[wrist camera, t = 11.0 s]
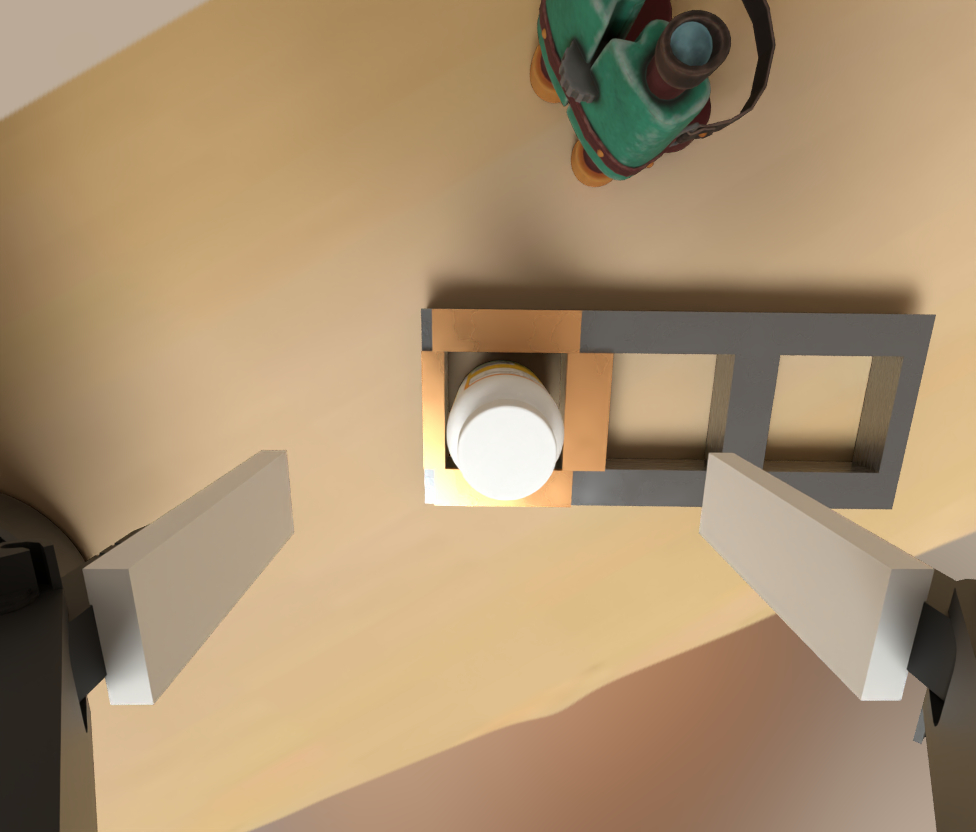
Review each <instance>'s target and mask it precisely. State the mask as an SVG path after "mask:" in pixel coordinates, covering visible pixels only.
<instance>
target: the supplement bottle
mask: <svg viewBox="0 0 976 832" xmlns="http://www.w3.org/2000/svg"><path fill="white" fill-rule="evenodd" d="M563 442H564V424H563V419H562V416H561V413H560V411H559V409H558V407H557V405H556V403H555V401H554V400H553V398H552V397H551V396H550V394H549V393H548V391H547V390H546V388H545V387H544V386H543V384H542V383H541V381H540V380H539V379H538V377H537V376H536V375H535V374H534V373H533V372H532V371H531V370H529V369H528V368H527V367H525V366H523V365H521V364H519V363H516V362H512V361H507V360H496V361H491V362H487V363H484V364H482V365H480V366H478V367H477V368H475V369H474V370H473V371H471V372H470V373H469V374H468V375H467V376H466V378H465V379H464V380H463V382H462V384H461V385H460V387H459V390H458V392H457V395H456V398H455V401H454V403H453V406H452V408H451V411H450V414H449V418H448V423H447V444H448V449H449V452H450V455H451V457H452V459H453V461H454V463H455V464H456V466H457V467H458V468H459V470H460V471H461V472H462V474H463V476H464V478H465V479H466V481H467V482H468V483H469V484H470V485H471V486H472V487H473V488H474V489H475V490H476V491H478V492H479V493H481V494H483V495H485V496H487V497H489V498H493V499H497V500H516V499H520V498H524V497H526V496H529V495H531V494H532V493H534V492H536V491H537V490H539V489H540V488H541V487H542V486H543V485H544V484H545V483H546V482H547V480H548V479H549V477H550V476H551V474H552V472H553V470H554V467H555V464H556V461H557V460H558V458H559V456H560V453H561V451H562V447H563Z"/></svg>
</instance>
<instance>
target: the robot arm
mask: <svg viewBox="0 0 976 832" xmlns="http://www.w3.org/2000/svg"><path fill="white" fill-rule="evenodd" d="M293 533H294V525H293V514H292V503H291V492H290V481H289V470H288V459H287V450H261V451H260V452H258V453H257V454H255V455H254V456H252V457H251V458H249V459H248V460H246V461H245V462H243V463H242V464H240V465H239V466H237V467H236V468H234V469H233V470H231V471H230V472H228V473H227V474H225V475H224V476H222V477H221V478H219V479H217V480H216V481H214V482H213V483H211V484H210V485H208V486H207V487H205V488H204V489H202V490H201V491H199V492H198V493H196V494H195V495H193V496H192V497H190V498H189V499H187V500H186V501H184V502H183V503H181V504H180V505H178V506H177V507H175V508H174V509H172V510H171V511H169V512H168V513H166V514H165V515H163V516H162V517H160V518H159V519H157V520H156V521H154V522H152V523H151V524H149V525H147V526H144V527H142V528H139V529H137V530H135V531H132V532H131V533H129V534H128V535H126V536H125V537H123V538H122V539H120V540H119V541H117V542H116V543H115V545H111V546H109V547H108V548H106V549H105V550H103V551H102V552H100V553H99V555H96V556H94V557H92V558H91V559H89V560H88V561H86V562H85V561H84V559H83V557H82V556H81V554H80V553H79V551H78V550H77V548H76V547H75V546H74V544H73V543H72V542H71V541H70V540H69V538H68V537H67V536H66V535H65V534H64V533H63V532H62V531H61V530H60V529H59V528H58V527H57V526H56V525H55V524H53V523H52V522H51V521H50V520H49V519H47V518H46V517H45V516H44V515H42V514H41V513H39V512H38V511H36V510H35V509H33V508H32V507H30V506H28V505H27V504H25V503H23V502H21V501H19V500H17V499H15V498H12V497H10V496H8V495H5V494H3V493H0V832H98V830H97V813H96V796H95V779H94V762H93V744H92V727H91V711H90V707H89V702H88V698H87V694H88V693H89V692H90V691H91V690H92V689H93V688H94V687H95V686H96V685H97V684H98V683H99V682H101V681H102V680H103V679H104V678H105V680H106V684H107V689H108V694H109V699H110V703H111V705H154V703H155V702H156V701H157V700H158V699H159V697H160V696H161V695H162V694H163V692H164V691H165V690H166V689H167V688H168V686H169V685H170V684H171V683H172V681H173V680H174V679H175V678H176V677H177V675H178V674H179V673H180V672H181V670H182V669H183V668H184V667H185V666H186V664H187V663H188V662H189V661H190V659H191V658H192V657H193V656H194V655H195V653H196V652H197V651H198V650H199V648H200V647H201V646H202V645H203V644H204V642H205V641H206V640H207V639H208V637H209V636H210V635H211V634H212V633H213V631H214V630H215V629H216V628H217V626H218V625H219V624H220V623H221V621H222V620H223V619H224V618H225V617H226V615H227V614H228V613H229V612H230V610H231V609H232V608H233V607H234V606H235V604H236V603H237V602H238V601H239V599H240V598H241V597H242V596H243V595H244V593H245V592H246V591H247V590H248V588H249V587H250V586H251V585H252V584H253V582H254V581H255V580H256V579H257V577H258V576H259V575H260V574H261V573H262V571H263V570H264V569H265V568H266V566H267V565H268V564H269V563H270V562H271V560H272V559H273V558H274V557H275V555H276V554H277V553H278V552H279V551H280V549H281V548H282V547H283V546H284V544H285V543H286V542H287V541H288V540H289V538H290V537H291V536H292V535H293ZM699 534H700V535H701V536H702V537H703V538H704V539H705V540H706V541H707V542H708V543H709V544H710V545H711V546H712V547H713V548H714V549H715V550H716V551H717V552H718V553H719V555H720V556H721V557H722V558H723V559H724V560H725V561H726V562H727V563H728V564H729V565H730V566H731V567H732V568H733V569H734V570H735V571H736V572H737V573H738V574H739V575H740V576H741V577H742V578H743V579H744V580H745V581H746V582H747V583H748V584H749V585H750V587H751V588H752V589H753V590H754V591H755V592H756V593H757V594H758V595H759V596H760V597H761V598H762V599H763V600H764V601H765V602H766V603H767V604H768V605H769V606H770V607H771V608H772V609H773V610H774V611H775V612H776V613H777V614H778V615H779V616H780V617H781V618H782V620H783V621H784V622H785V623H786V624H787V625H788V626H789V627H790V628H791V629H792V630H793V631H794V632H795V633H796V634H797V635H798V636H799V637H800V638H801V639H802V640H803V641H804V642H805V643H806V644H807V645H808V646H809V647H810V648H811V649H812V650H813V651H814V652H815V654H816V655H817V656H818V657H819V658H820V659H821V660H822V661H823V662H824V663H825V664H826V665H827V666H828V667H829V668H830V669H831V670H832V671H833V672H834V673H835V674H836V675H837V676H838V677H839V678H840V679H841V680H842V681H843V682H844V683H845V685H846V686H847V687H848V688H849V689H850V690H851V691H852V692H853V693H854V694H855V695H856V696H858V698H859V699H860V700H901V698H902V694H903V690H904V686H905V682H906V678H907V674H908V671H909V672H910V673H911V674H912V675H914V676H915V677H916V678H917V679H918V680H919V681H921V682H922V683H923V684H924V685H925V686H927V691H926V695H925V698H924V702H923V706H922V710H921V713H920V717H919V721H918V724H917V728H916V732H915V736H914V739H913V741H915V742H918V743H920V744H921V743H922V741H923V739H924V737H926V742H927V751H928V758H929V768H930V776H931V785H932V793H933V802H934V811H935V820H936V828H937V832H976V580H974V579H964V580H960V581H955V580H953V579H952V578H950V577H948V576H946V575H945V574H943V573H941V572H939V571H938V570H936V569H934V568H932V567H931V566H929V565H927V564H926V563H924V562H922V561H920V560H919V559H917V558H915V557H913V556H912V555H910V554H908V553H906V552H905V551H903V550H901V549H899V548H898V547H896V546H894V545H892V544H891V543H889V542H887V541H886V540H884V539H882V538H880V537H879V536H877V535H875V534H873V533H872V532H870V531H868V530H866V529H864V528H863V527H861V526H859V525H858V524H856V523H854V522H852V521H851V520H849V519H847V518H845V517H844V516H842V515H840V514H838V513H837V512H835V511H833V510H832V509H830V508H828V507H826V506H825V505H823V504H821V503H819V502H818V501H816V500H814V499H812V498H811V497H809V496H807V495H805V494H804V493H802V492H800V491H799V490H797V489H795V488H793V487H792V486H790V485H788V484H786V483H785V482H783V481H781V480H779V479H778V478H776V477H774V476H772V475H771V474H769V473H767V472H766V471H764V470H762V469H760V468H759V467H757V466H755V465H753V464H752V463H750V462H748V461H746V460H745V459H743V458H741V457H740V456H738V455H736V454H734V453H709V456H708V464H707V472H706V480H705V488H704V496H703V504H702V512H701V520H700V528H699Z"/></svg>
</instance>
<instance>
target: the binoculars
mask: <svg viewBox="0 0 976 832" xmlns="http://www.w3.org/2000/svg"><path fill="white" fill-rule="evenodd" d="M742 1H743V4H744V6H745V8H746V10H747V12H748V14H749V17H750V19H751V21H752V23H753V28H754V34H755V40H756V46H757V52H758V62H757V67H756V72H755V76H754V81H753V86H752V91H751V95H750V97H749V99H748V101H747V102H746V104H745V106H744V107H743V109H742V110H741V112H740V114H739V115H737V116H735V117H734V118H732V119H729V120H725V121H721V122H717V123H713V124H709V125H706V124H707V122H708V120H709V117H710V113H711V103H710V98H709V97H710V91H711V87H710V82H709V79H708V76H709V75H711V74H712V73H713V72H714V71H715V70H716V69H717V68H718V67H719V66H720V65H721V64H722V63H723V62H724V60H725V59H726V57H727V55H728V54H729V51H730V47H731V37H730V33H729V30H728V28H727V26H726V24H725V23H724V22H723V21H722V20H721V19H720V18H719V17H717V16H716V15H714V14H712V13H710V12H707V11H702V10H692V11H687V12H684V13H682V14H679V15H678V16H676V17H675V18H673V19H672V8H671V3H670V0H542V1H541V4H540V8H539V17H538V22H537V31H538V38H539V45H538V46H537V48H536V51H535V53H534V56H533V60H532V63H531V68H530V81H531V85H532V87H533V89H534V91H535V93H536V94H537V95H538V96H539V97H540V98H541V99H543V100H545V101H547V102H552V103H557V102H561V103H562V104H563V106H566V105H567V104H568V103H569V104H570V105H569V107H568V109H567V115H568V118H569V120H570V122H571V124H572V127H573V129H574V131H575V133H576V135H577V137H578V139H579V140H578V141H577V143H576V144H575V146H574V149H573V151H572V156H571V165H572V170H573V172H574V174H575V176H576V177H577V179H578V180H579V181H580V182H582V183H583V184H585V185H587V186H592V187H599V186H603V185H606V184H607V183H609V182H611V181H612V180H613V179H614V180H625V179H627V178H630V177H631V176H633V175H635V174H637V173H638V172H640V171H641V170H643V169H644V168H646V167H647V168H650V167H652V166H653V164H654V161H656V160H657V159H658V158H659V157H661V156H662V155H663V154H664V153H671V152H677V151H679V150H682V149H683V148H685V147H686V146H688V145H689V144H690V143H691V142H692V141H693V140H694V139H700V138H705V137H707V136H710V135H712V133H713V132H716V131H719V130H721V129H723V128H724V127H726V126H728V125H730V124H731V123H733V122H735V121H736V120H738V119H740V118H741V117H742V116H744V115H745V114H747V113H748V112H749V111H751V110H752V109H753V107H754V106H755V104H756V103H757V101H758V99H759V98H760V96H761V95H762V93H763V91H764V90H765V88H766V86H767V82H768V77H769V73H770V68H771V63H772V59H773V54H774V50H775V39H774V32H773V26H772V20H771V14H770V8H769V5H768V3H767V1H766V0H742Z"/></svg>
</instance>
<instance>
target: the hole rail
mask: <svg viewBox="0 0 976 832" xmlns="http://www.w3.org/2000/svg"><path fill="white" fill-rule="evenodd" d="M935 316H936V315H925V314H851V313H766V312H680V311H595V310H510V309H421V323H422V351H421V363H422V409H423V456H424V469H425V503H435V505H443V506H518V507H571V505H605V506H680V507H702V504H703V496H704V488H705V480H706V472H707V464H708V456H709V453H734V454H736V455H738V456H740V457H741V458H743V459H745V460H746V461H748V462H750V463H752V464H753V465H755V466H757V467H759V468H760V469H762V470H764V471H766V472H767V473H769V474H771V475H772V476H774V477H776V478H778V479H779V480H781V481H783V482H785V483H786V484H788V485H790V486H792V487H793V488H795V489H797V490H799V491H800V492H802V493H804V494H805V495H807V496H809V497H811V498H812V499H814V500H816V501H818V502H819V503H821V504H823V505H825V506H826V507H828V508H831V509H892V506H893V502H894V498H895V493H896V489H897V484H898V480H899V475H900V471H901V467H902V462H903V458H904V453H905V449H906V445H907V440H908V436H909V431H910V427H911V422H912V418H913V414H914V409H915V405H916V400H917V396H918V392H919V387H920V383H921V378H922V374H923V369H924V365H925V361H926V356H927V352H928V347H929V343H930V338H931V334H932V330H933V325H934V321H935ZM448 352H529V353H562V356H561V377H560V398H559V411H560V413H561V416H562V419H563V424H564V442H563V447H562V451H561V453H560V456H559V458H558V460H557V461H556V464H555V467H554V470H553V472H552V474H551V476H550V477H549V479H548V480H547V482H546V483H545V484H544V485H543V486H542V487H541V488H540V489H539V490H537V491H536V492H534V493H532V494H531V495H529V496H526V497H524V498H520V499H516V500H497V499H493V498H489V497H487V496H485V495H483V494H481V493H479V492H478V491H476V490H475V489H474V488H473V487H472V486H471V485H470V484H469V483H468V482H467V481H466V479H465V478H464V476H463V474H462V472H461V471H460V470H459V468H458V467H457V466H456V464H455V463H454V461H453V459H452V457H451V456H449V449H448V444H447V423H448ZM613 353H655V354H717V361H716V369H715V377H714V385H713V393H712V401H711V409H710V417H709V425H708V433H707V441H706V449H705V458H704V460H685V459H608V458H606V450H607V436H608V423H609V409H610V395H611V381H612V368H613ZM780 355H821V356H873V360H872V365H871V370H870V375H869V380H868V385H867V390H866V395H865V400H864V405H863V410H862V415H861V420H860V425H859V430H858V435H857V440H856V445H855V450H854V455H853V460H852V462H840V461H764V457H765V450H766V444H767V438H768V431H769V425H770V418H771V412H772V405H773V399H774V392H775V386H776V379H777V373H778V366H779V360H780Z"/></svg>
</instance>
